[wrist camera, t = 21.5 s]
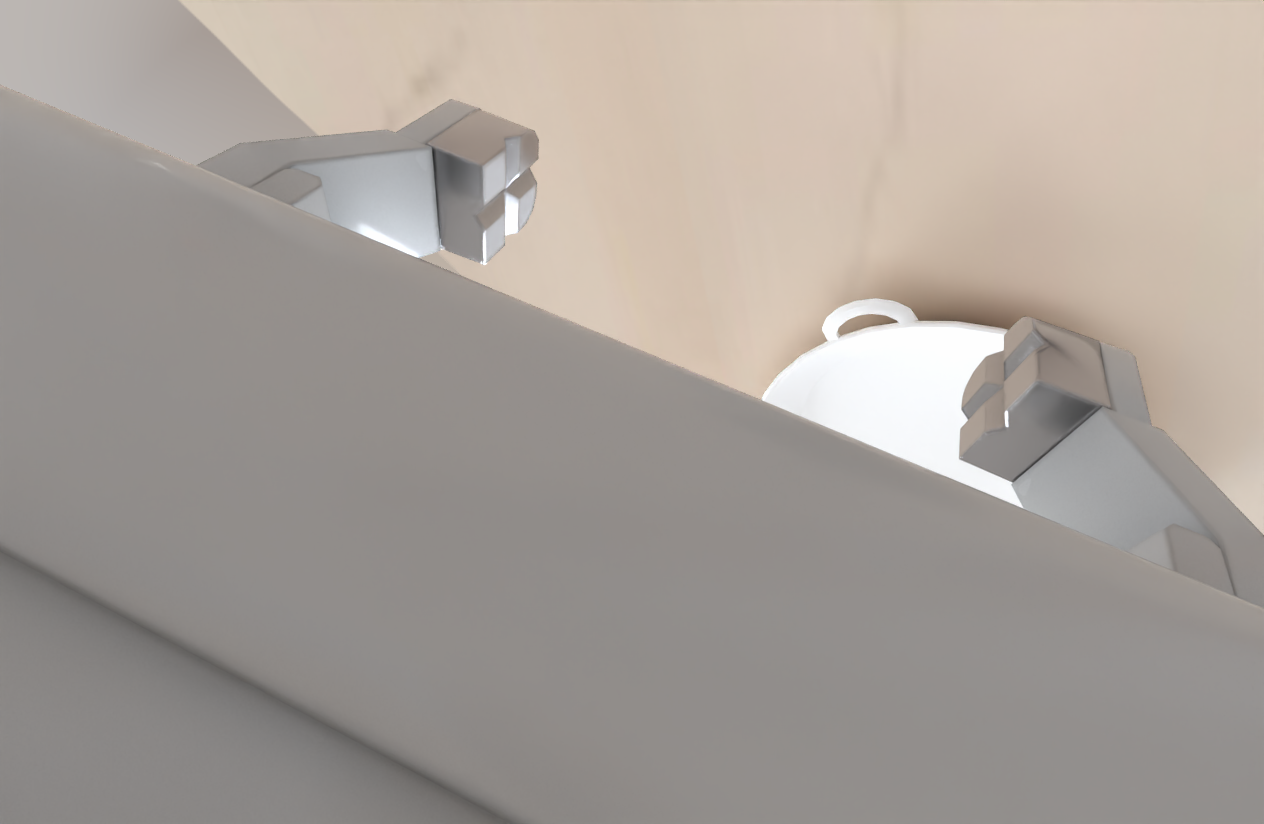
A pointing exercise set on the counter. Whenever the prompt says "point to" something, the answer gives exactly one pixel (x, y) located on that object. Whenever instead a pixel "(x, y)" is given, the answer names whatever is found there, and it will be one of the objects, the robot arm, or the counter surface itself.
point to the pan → (895, 387)
